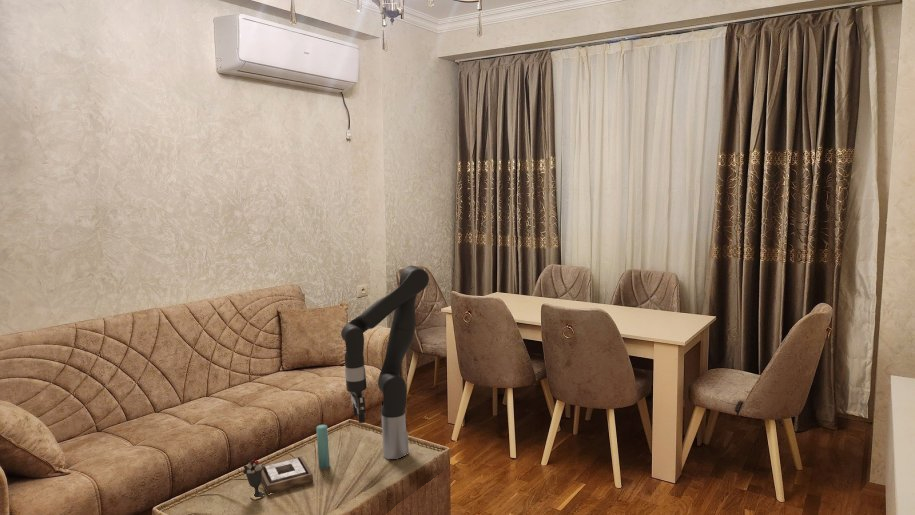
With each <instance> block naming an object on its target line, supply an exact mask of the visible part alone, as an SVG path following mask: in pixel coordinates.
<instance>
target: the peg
mask: <svg viewBox="0 0 915 515" xmlns="http://www.w3.org/2000/svg"><path fill="white" fill-rule="evenodd" d="M315 431H316V440H317V441H316V442H317V455H318V456H317V457H318V458H317V459H318V468H319V469H320V470H326V469H328V468H330V450H329V434H328V425H327V424H319V425H317V426H316V430H315Z"/></svg>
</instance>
